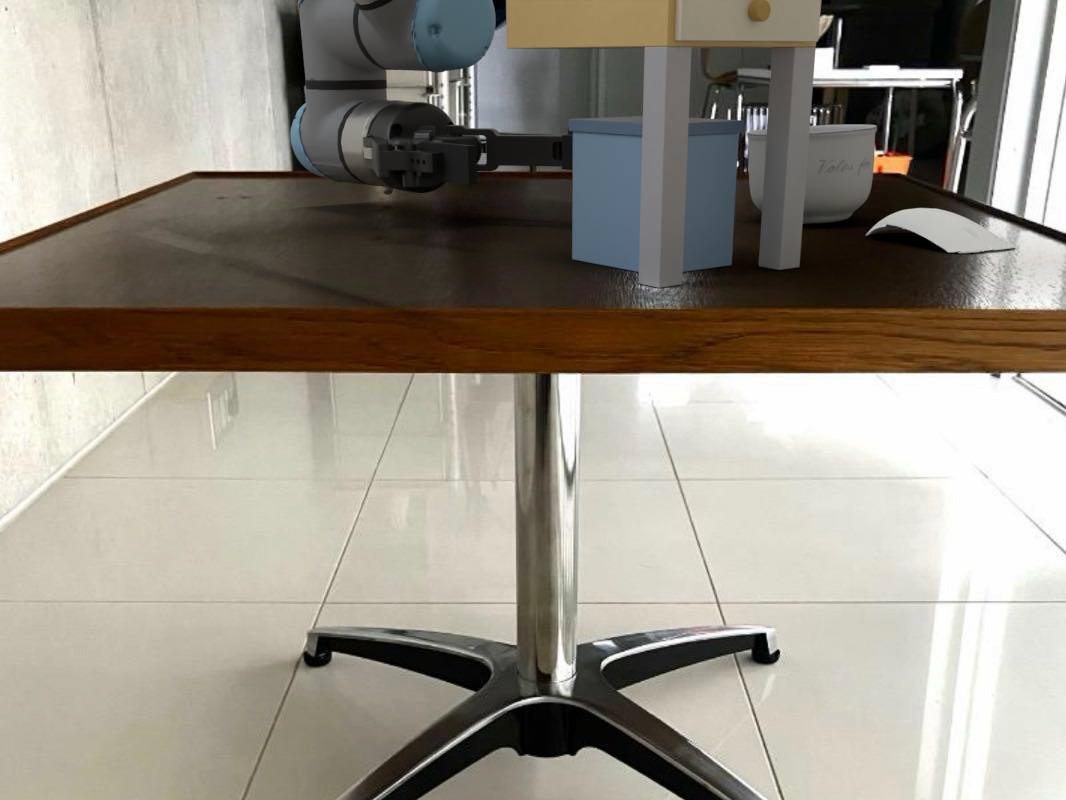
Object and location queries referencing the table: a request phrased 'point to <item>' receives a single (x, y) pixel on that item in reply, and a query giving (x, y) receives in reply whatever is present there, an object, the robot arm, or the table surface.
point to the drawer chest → (667, 36)
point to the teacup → (825, 170)
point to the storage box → (615, 191)
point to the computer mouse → (943, 230)
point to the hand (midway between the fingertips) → (548, 160)
